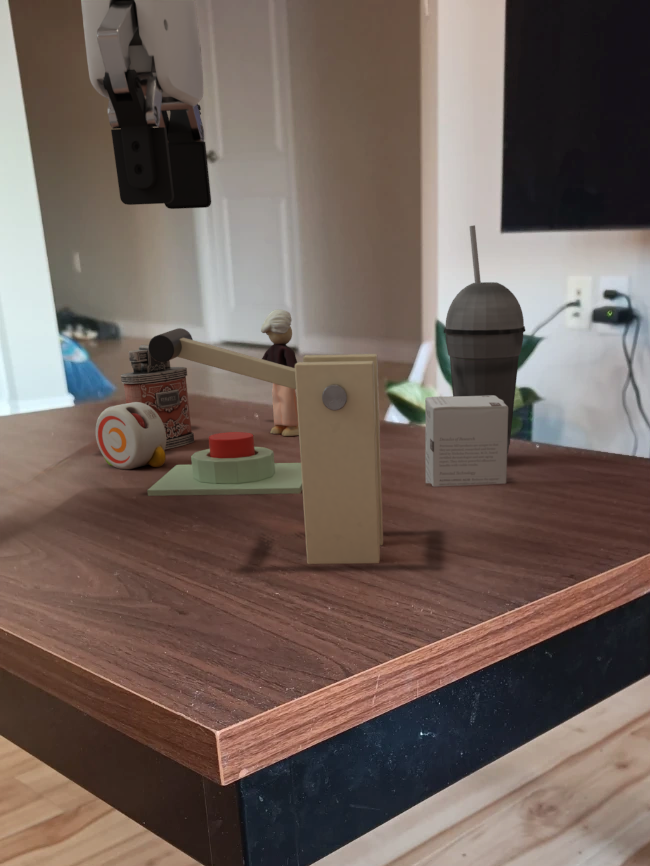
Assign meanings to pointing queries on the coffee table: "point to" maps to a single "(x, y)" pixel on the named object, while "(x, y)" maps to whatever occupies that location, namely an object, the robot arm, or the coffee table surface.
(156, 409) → the lighter
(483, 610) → the coffee table surface
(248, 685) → the coffee table surface
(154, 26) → the robot arm
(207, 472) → the button block
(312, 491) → the lever bracket
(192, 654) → the coffee table surface
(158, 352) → the lever
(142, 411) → the roller toy
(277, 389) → the grandmother figurine
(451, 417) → the product carton
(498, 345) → the beverage cup
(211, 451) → the button
